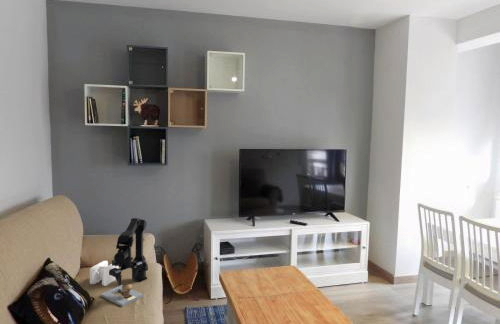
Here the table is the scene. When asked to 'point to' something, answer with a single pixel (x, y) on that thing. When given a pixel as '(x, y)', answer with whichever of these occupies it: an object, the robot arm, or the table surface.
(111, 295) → the keyhole board
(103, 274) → the cable organizer
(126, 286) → the peg
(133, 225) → the robot arm
